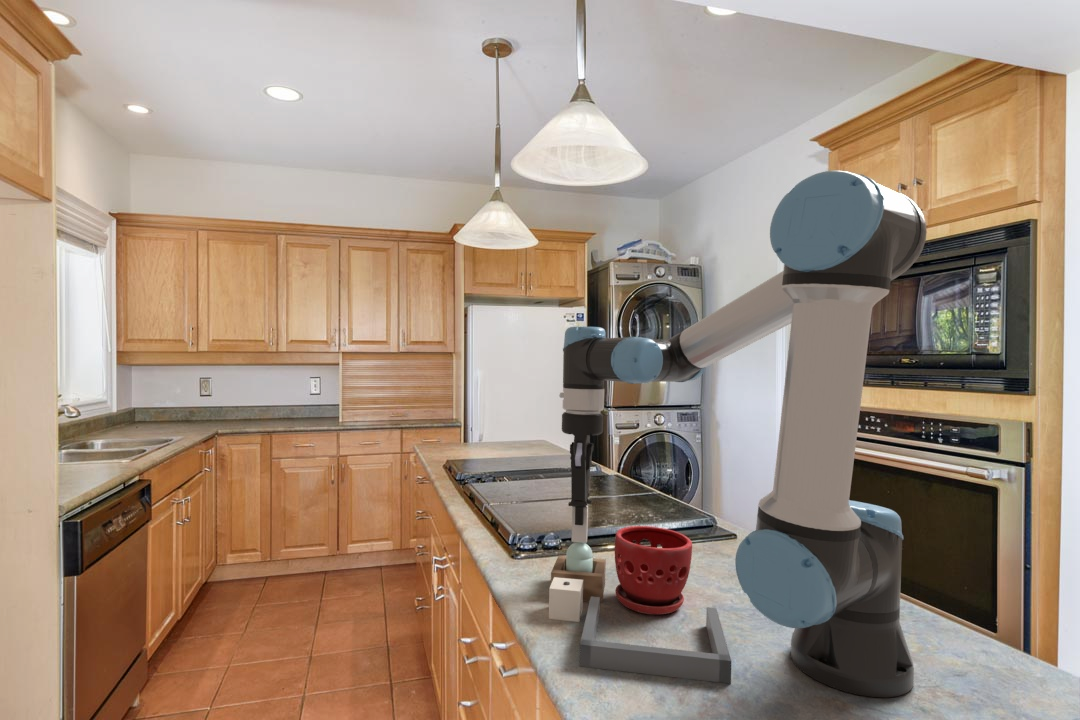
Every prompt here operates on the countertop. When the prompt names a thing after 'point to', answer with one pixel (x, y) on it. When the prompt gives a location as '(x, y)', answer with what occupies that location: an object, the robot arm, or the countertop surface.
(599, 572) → the button box
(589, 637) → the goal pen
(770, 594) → the robot arm
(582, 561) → the dome button
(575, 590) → the cream cube with hole
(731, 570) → the countertop surface
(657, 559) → the plant pot
